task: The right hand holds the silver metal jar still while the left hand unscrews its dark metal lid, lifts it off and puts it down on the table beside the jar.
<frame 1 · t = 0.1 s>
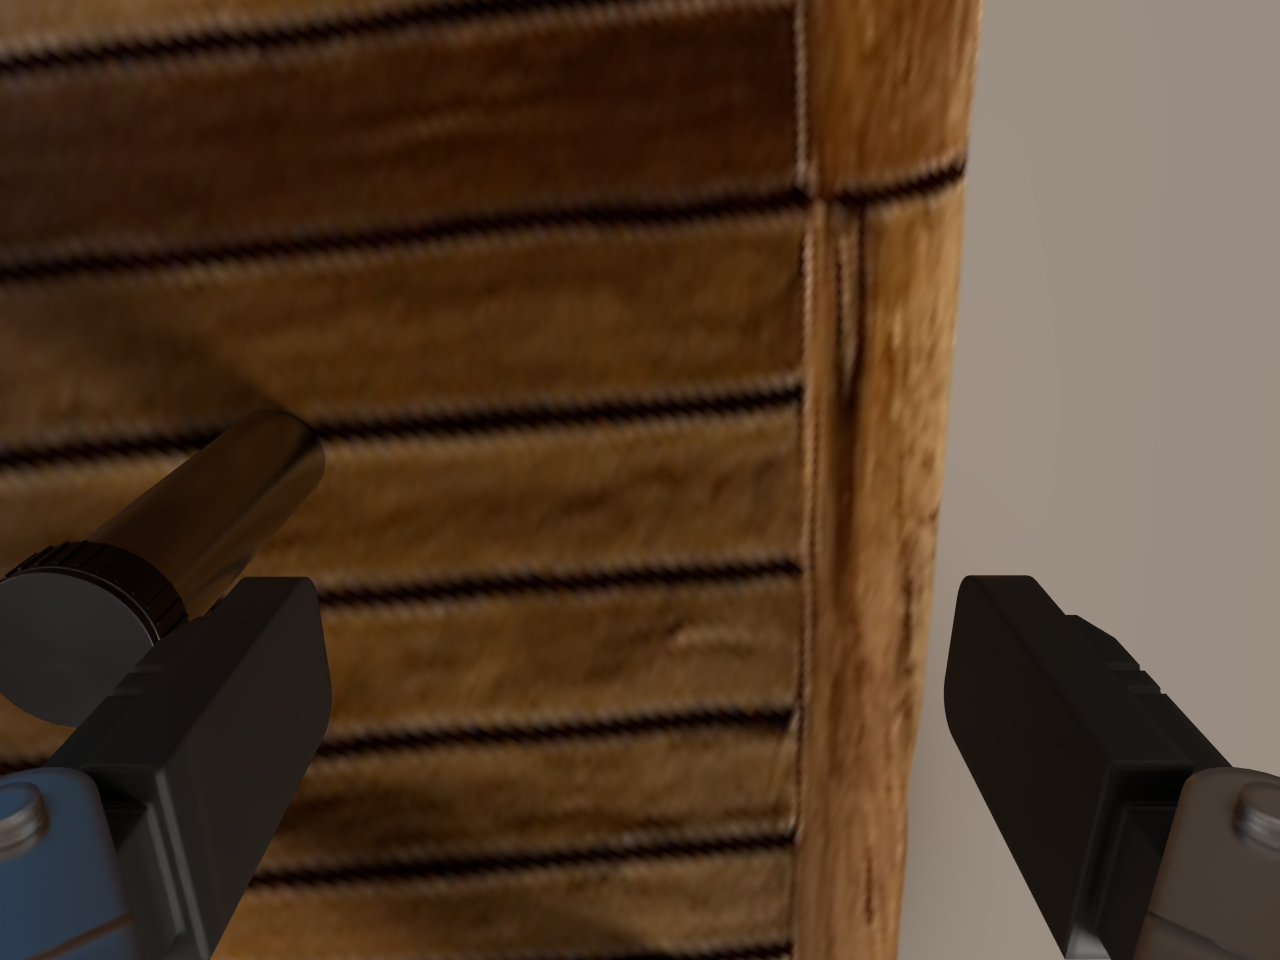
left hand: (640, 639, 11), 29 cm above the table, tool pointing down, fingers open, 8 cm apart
jar: (276, 456, 42), on the table
lid: (71, 647, 27), point 16 cm above the table, screwed on, not yet turned
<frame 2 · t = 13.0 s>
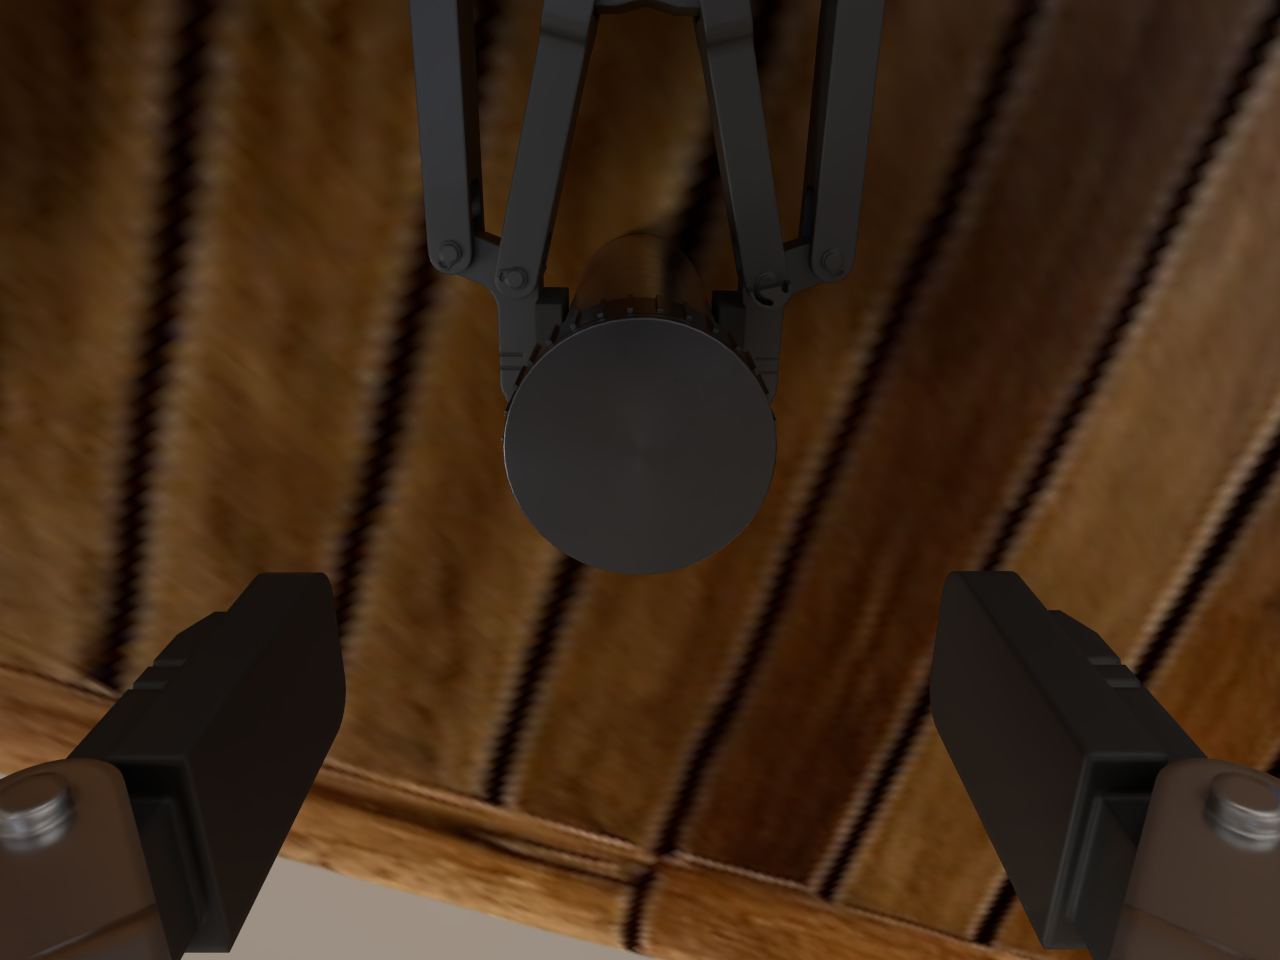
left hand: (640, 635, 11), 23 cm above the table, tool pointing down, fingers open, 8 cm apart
jar: (639, 296, 33), on the table, touching right hand
lid: (639, 447, 18), point 16 cm above the table, screwed on, not yet turned
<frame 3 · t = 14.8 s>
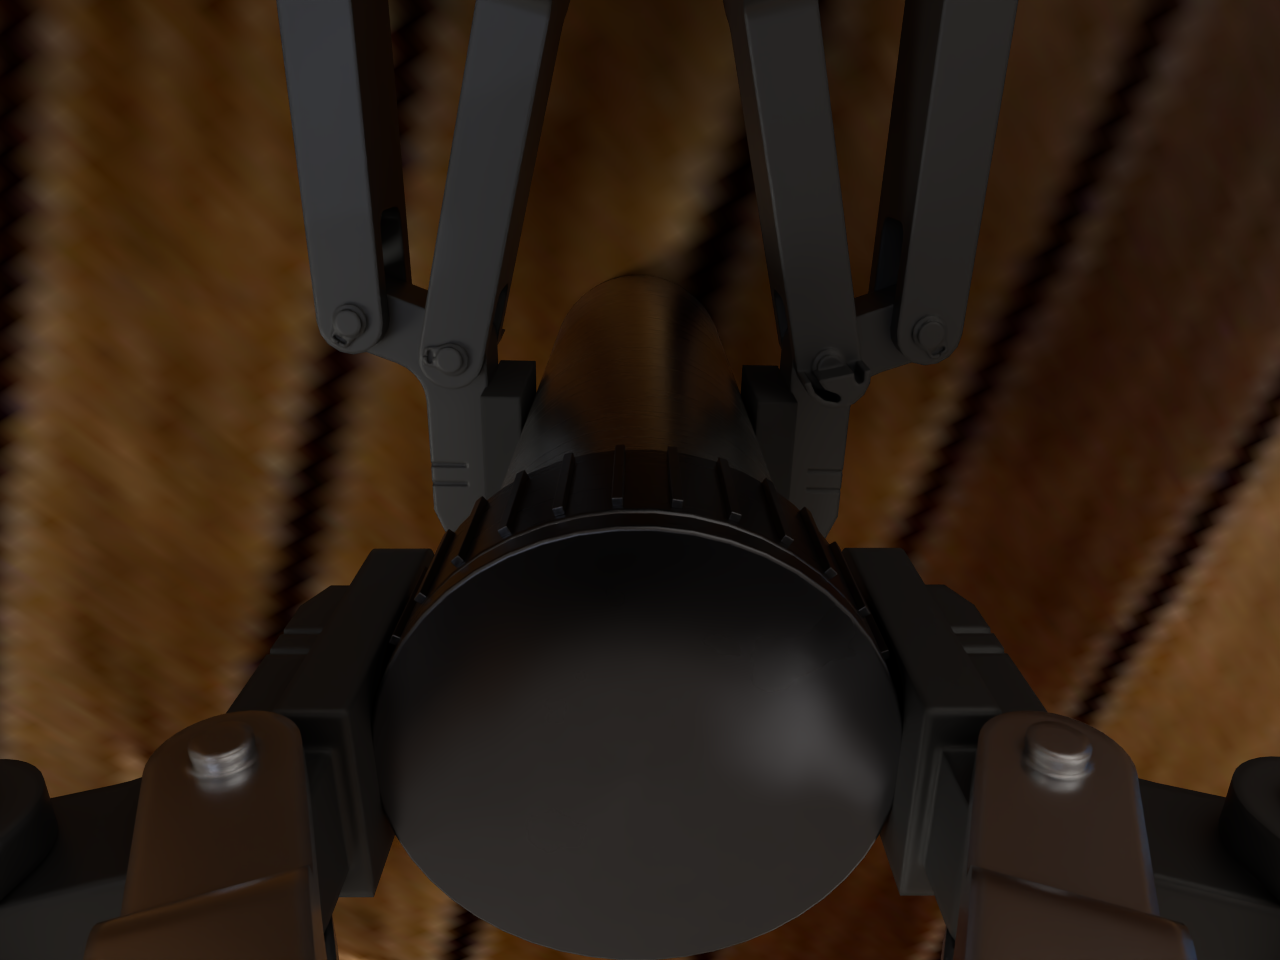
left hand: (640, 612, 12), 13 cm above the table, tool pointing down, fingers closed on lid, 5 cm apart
jar: (638, 358, 24), on the table, touching right hand
lid: (637, 745, 9), point 16 cm above the table, screwed on, not yet turned, touching left hand
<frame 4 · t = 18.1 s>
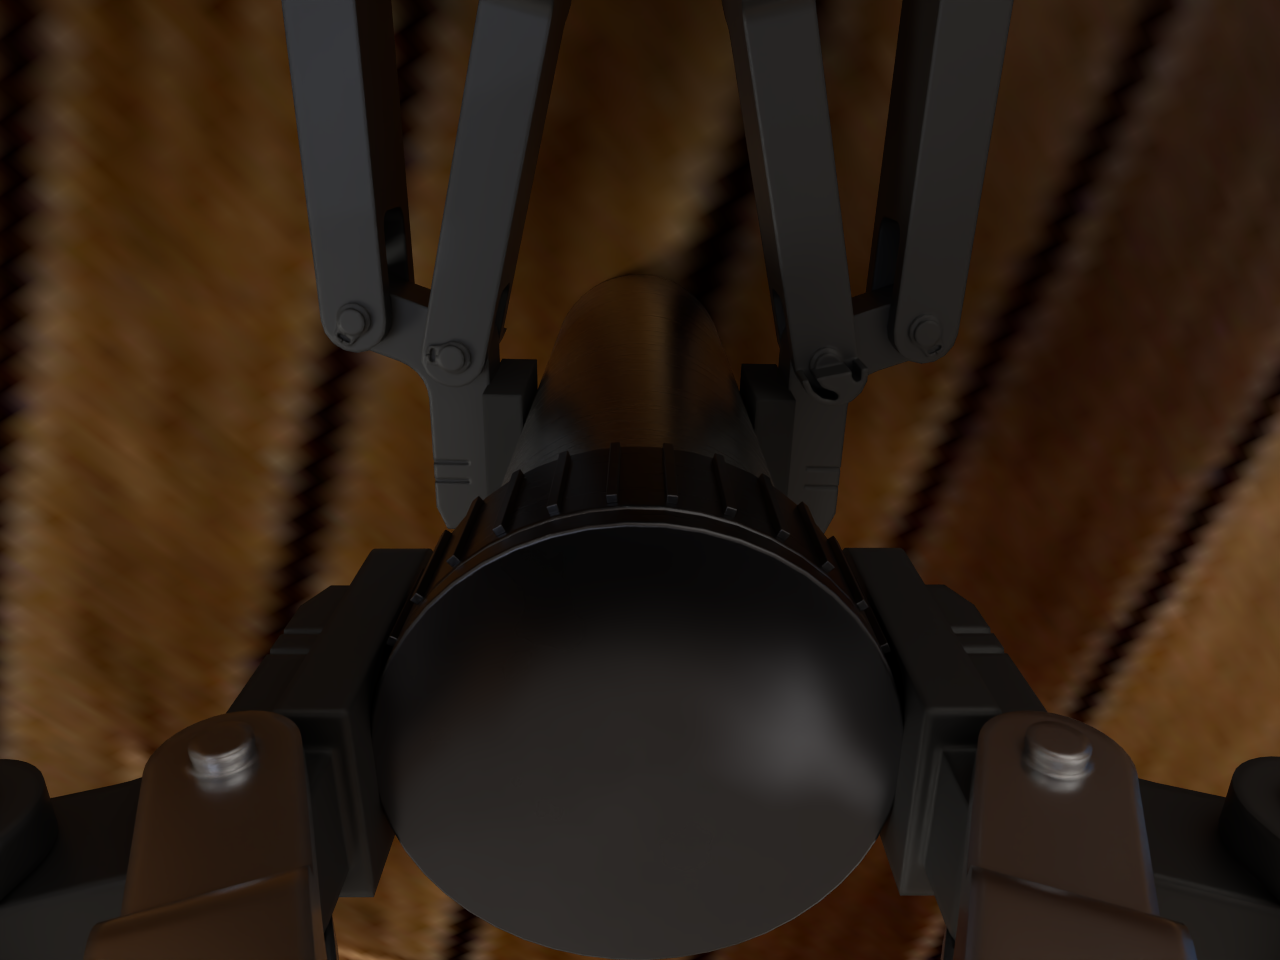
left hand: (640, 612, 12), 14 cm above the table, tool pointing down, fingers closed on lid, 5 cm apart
jar: (638, 357, 24), on the table, touching right hand
lid: (637, 744, 9), point 16 cm above the table, turned 73° so far, risen 0.2 cm, still on its thread, touching left hand
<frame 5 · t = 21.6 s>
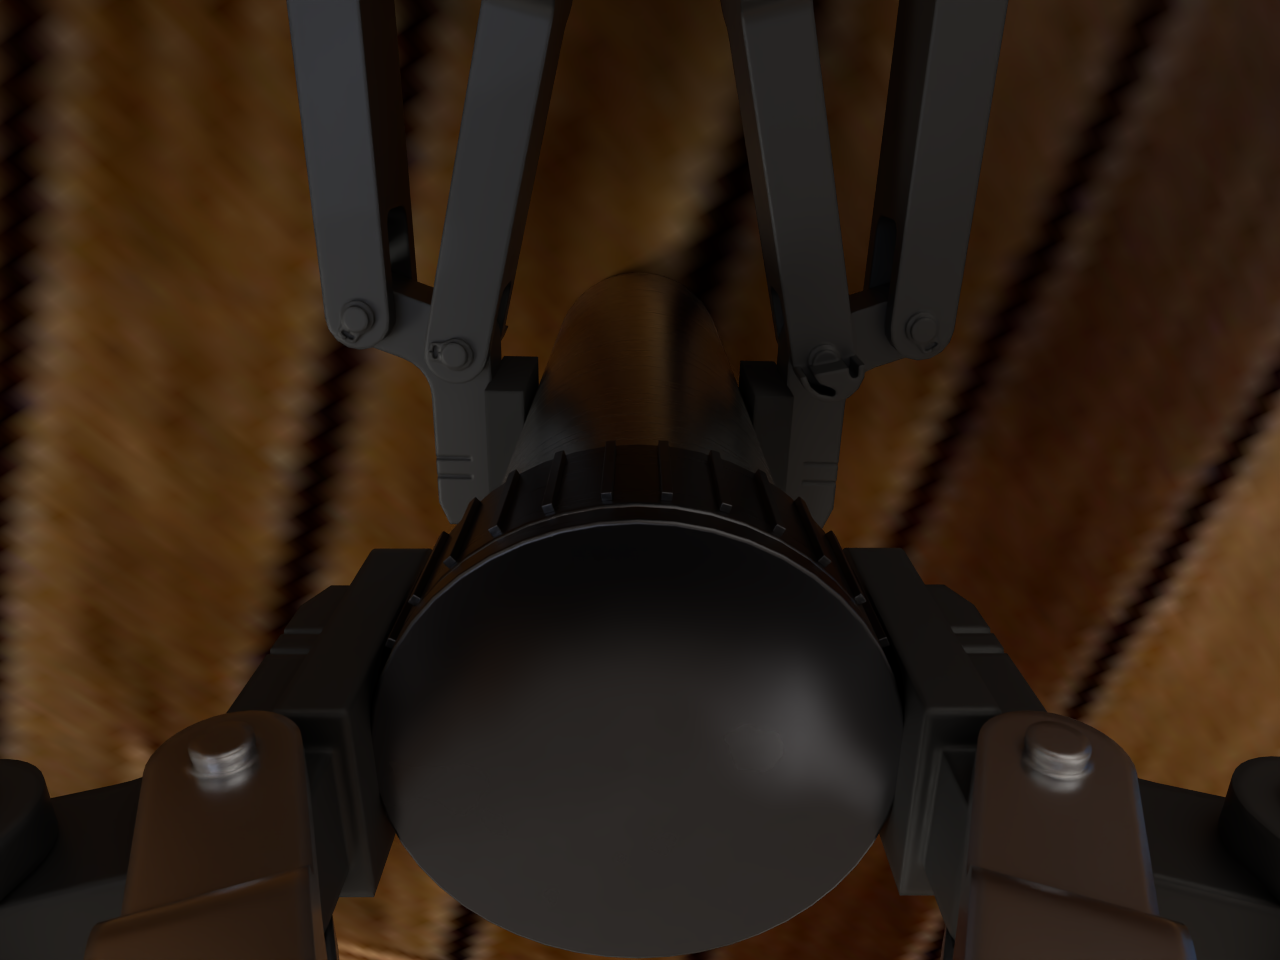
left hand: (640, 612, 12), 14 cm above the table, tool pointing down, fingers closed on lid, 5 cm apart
jar: (638, 354, 25), on the table, touching right hand
lid: (637, 741, 9), point 17 cm above the table, turned 146° so far, risen 0.4 cm, still on its thread, touching left hand
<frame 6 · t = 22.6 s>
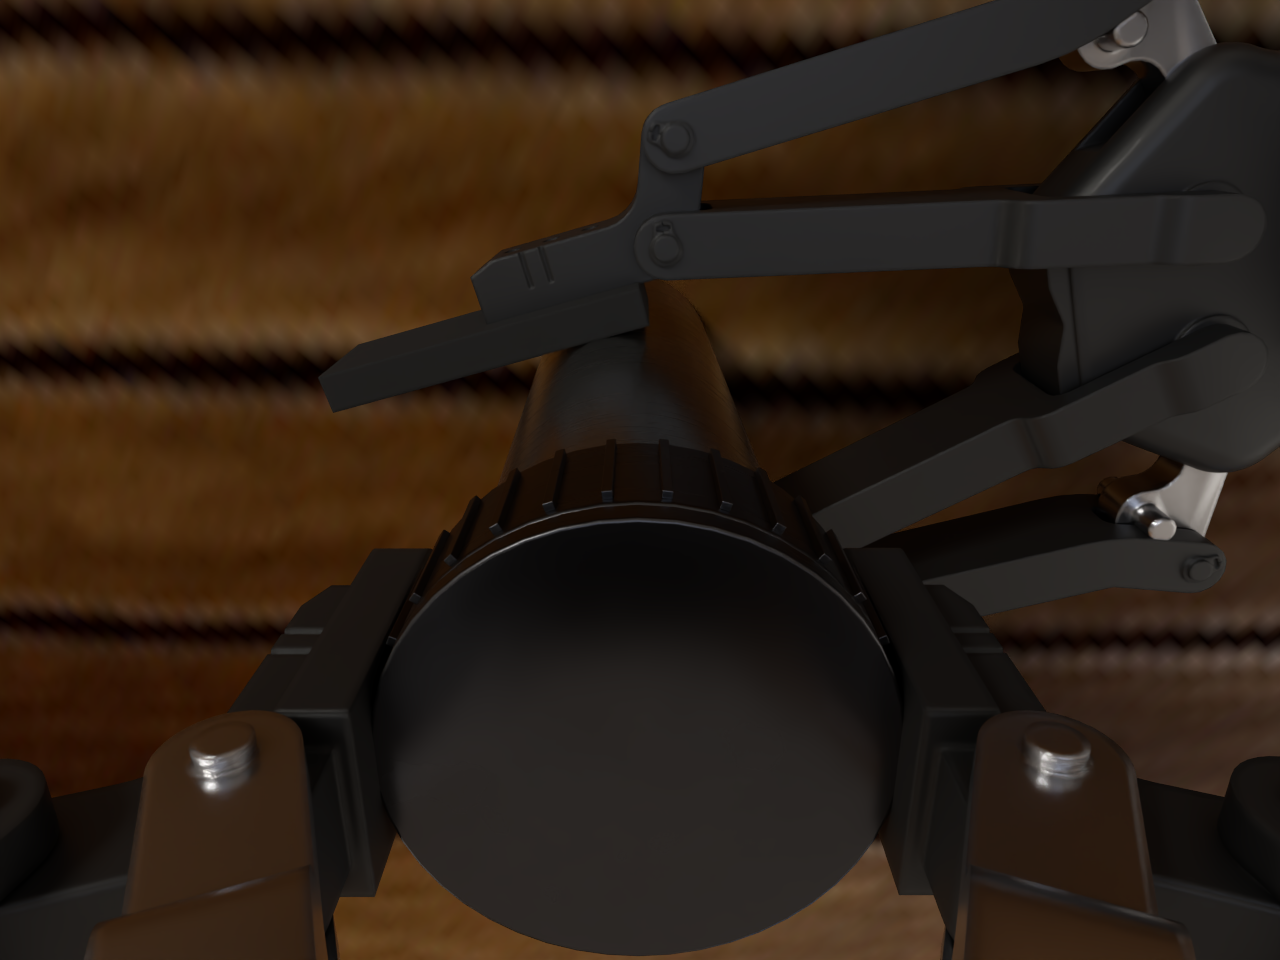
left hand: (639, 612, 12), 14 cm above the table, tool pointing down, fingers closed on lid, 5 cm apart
right hand: (394, 486, 20), fingers closed on jar, 4 cm apart
jar: (627, 354, 25), on the table, touching right hand
lid: (638, 739, 9), point 17 cm above the table, off its thread, touching left hand
when the left hand's fingers open (0 cm above the table, at t = 28.4 s): lid drops 1 cm, point 2 cm above the table.
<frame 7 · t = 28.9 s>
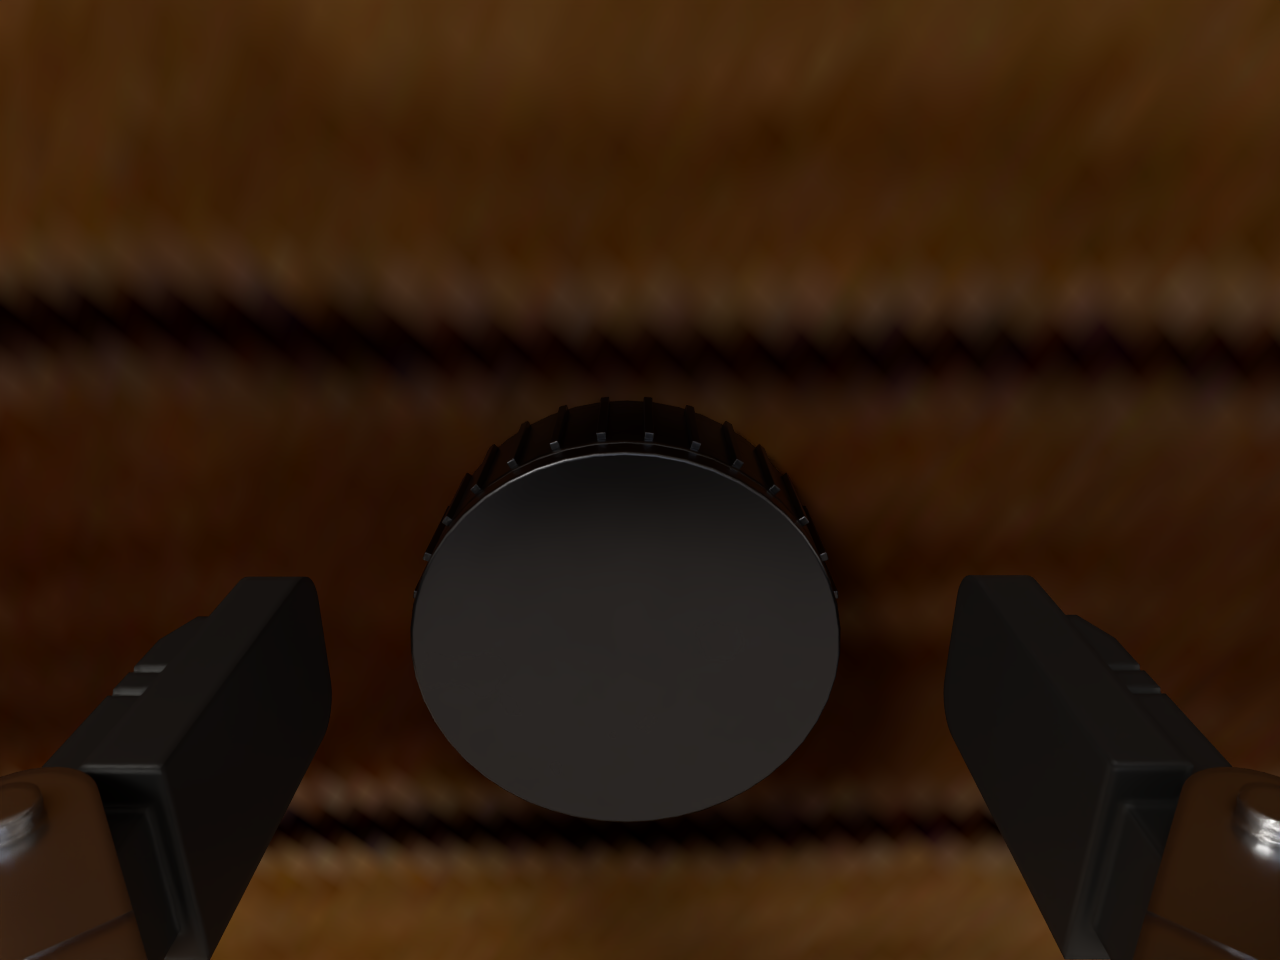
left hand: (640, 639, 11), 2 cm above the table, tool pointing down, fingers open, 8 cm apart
lid: (626, 639, 11), point 2 cm above the table, off its thread
when the right hand's fingers open (6 cm above the table, at t = 29.3 s): jar stays where it is, on the table.
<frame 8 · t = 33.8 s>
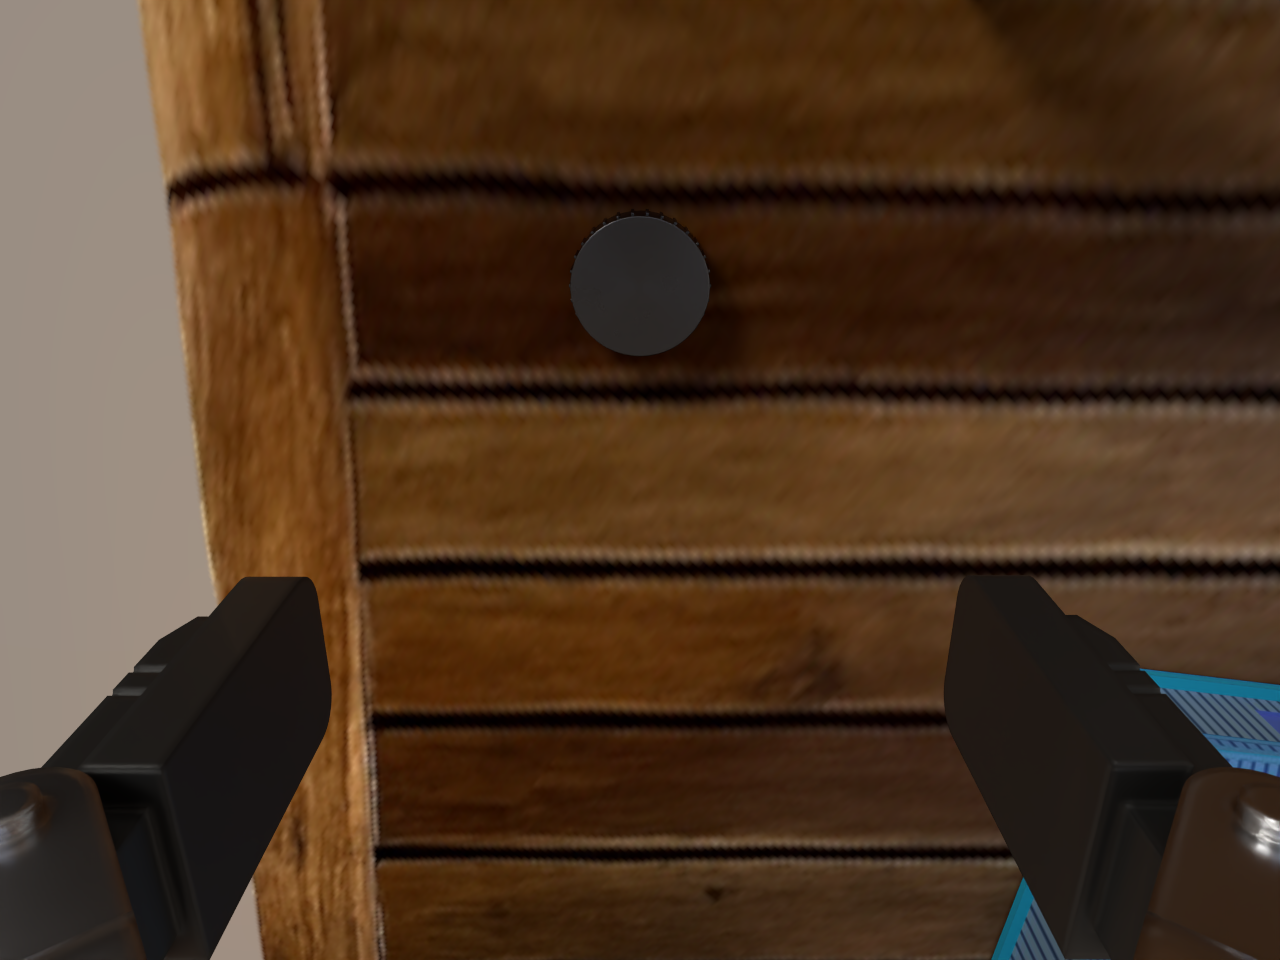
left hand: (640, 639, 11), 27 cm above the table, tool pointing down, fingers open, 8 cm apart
lid: (640, 286, 35), point 2 cm above the table, off its thread
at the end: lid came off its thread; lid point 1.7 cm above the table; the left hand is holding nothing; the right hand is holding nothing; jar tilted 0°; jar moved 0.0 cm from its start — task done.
